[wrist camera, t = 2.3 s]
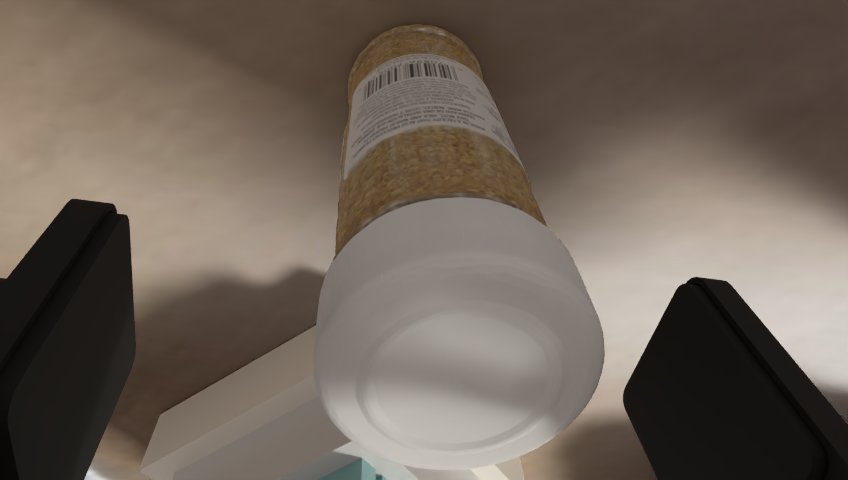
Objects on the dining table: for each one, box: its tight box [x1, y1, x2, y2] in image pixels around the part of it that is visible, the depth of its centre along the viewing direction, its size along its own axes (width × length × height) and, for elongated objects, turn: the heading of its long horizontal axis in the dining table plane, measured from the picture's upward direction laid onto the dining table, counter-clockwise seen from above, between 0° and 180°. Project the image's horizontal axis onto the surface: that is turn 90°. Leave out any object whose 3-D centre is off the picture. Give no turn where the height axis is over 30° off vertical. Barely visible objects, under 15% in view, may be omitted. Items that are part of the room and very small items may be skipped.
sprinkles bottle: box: [314, 24, 605, 471], centre depth 15 cm, size 5×5×13 cm
